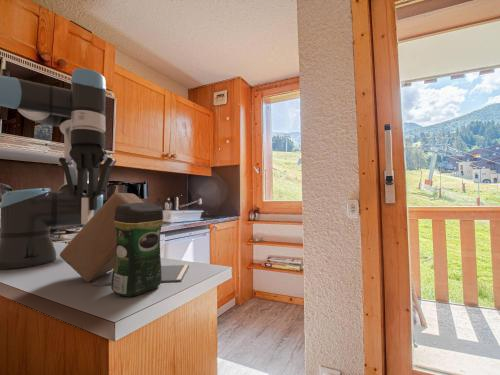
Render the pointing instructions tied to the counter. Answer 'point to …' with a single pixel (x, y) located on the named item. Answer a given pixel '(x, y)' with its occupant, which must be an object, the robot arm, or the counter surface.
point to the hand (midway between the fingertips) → (87, 223)
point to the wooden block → (97, 240)
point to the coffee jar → (137, 248)
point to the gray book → (167, 272)
